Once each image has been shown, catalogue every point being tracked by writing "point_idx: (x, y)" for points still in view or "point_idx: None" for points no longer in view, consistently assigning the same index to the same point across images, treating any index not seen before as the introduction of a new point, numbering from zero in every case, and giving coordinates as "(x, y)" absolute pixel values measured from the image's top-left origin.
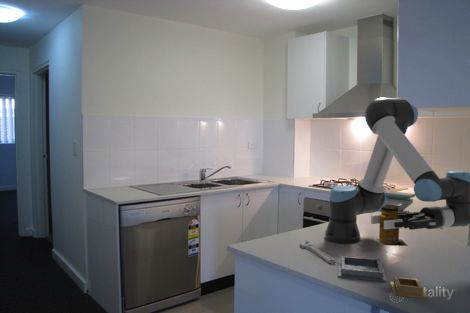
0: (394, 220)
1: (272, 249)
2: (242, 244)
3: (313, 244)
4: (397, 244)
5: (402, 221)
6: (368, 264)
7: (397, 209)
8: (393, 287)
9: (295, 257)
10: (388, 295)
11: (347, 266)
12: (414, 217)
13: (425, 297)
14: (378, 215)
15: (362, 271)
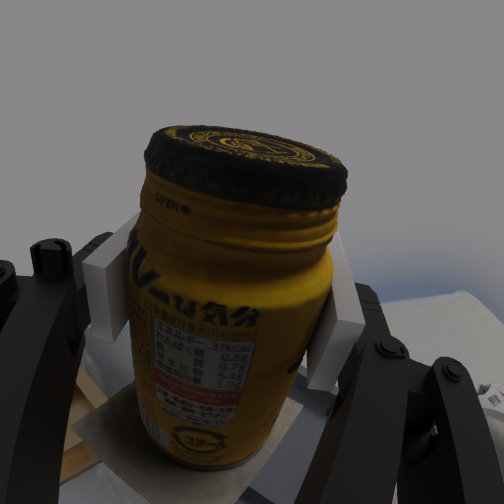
0: (131, 220)
1: (465, 332)
2: (480, 306)
3: (502, 410)
4: (141, 418)
5: (85, 280)
6: None
7: (149, 144)
8: (102, 397)
9: (420, 347)
10: (93, 359)
11: (322, 414)
12: (4, 500)
13: None
14: (330, 249)
15: None
